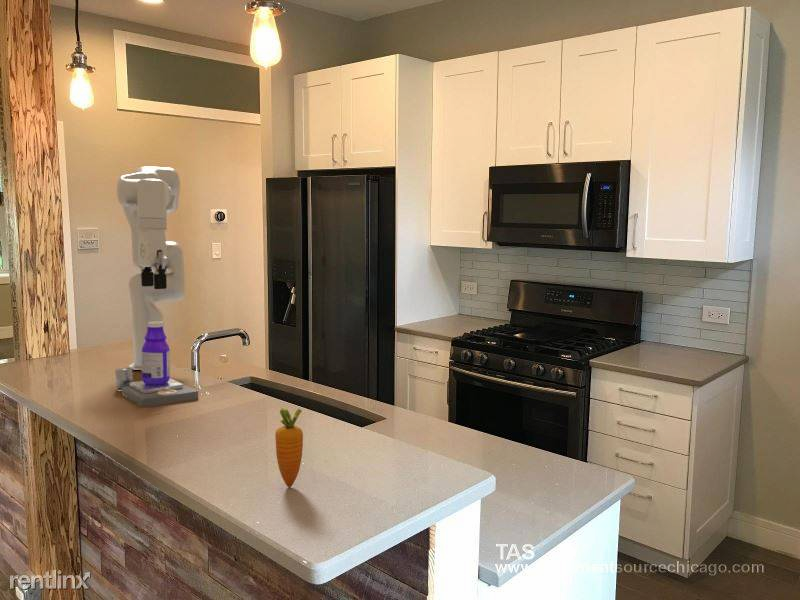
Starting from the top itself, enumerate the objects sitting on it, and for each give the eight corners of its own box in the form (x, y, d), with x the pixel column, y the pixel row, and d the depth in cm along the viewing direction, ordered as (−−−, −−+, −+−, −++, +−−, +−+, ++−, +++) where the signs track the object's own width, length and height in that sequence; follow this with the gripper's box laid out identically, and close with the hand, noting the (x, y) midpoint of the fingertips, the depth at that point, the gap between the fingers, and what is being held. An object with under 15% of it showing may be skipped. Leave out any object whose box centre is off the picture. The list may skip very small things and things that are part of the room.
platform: (129, 385, 188) (129, 382, 188) (168, 380, 195) (168, 377, 195) (143, 393, 180) (143, 390, 180) (183, 387, 187) (183, 384, 187)
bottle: (173, 381, 190) (171, 320, 188) (164, 386, 184) (163, 323, 182) (148, 380, 191) (147, 320, 189) (139, 385, 185) (137, 322, 183)
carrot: (304, 482, 125) (304, 403, 124) (301, 492, 120) (301, 411, 119) (277, 482, 125) (277, 403, 123) (273, 492, 120) (273, 411, 118)
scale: (122, 394, 187) (121, 385, 187) (174, 387, 197) (174, 378, 197) (143, 407, 174) (142, 397, 174) (198, 398, 184) (198, 389, 184)
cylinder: (117, 388, 194) (116, 368, 193) (134, 386, 196) (132, 366, 195) (116, 392, 190) (114, 371, 189) (132, 390, 191) (131, 370, 191)
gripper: (127, 224, 187) (129, 285, 189) (149, 225, 174) (151, 290, 175) (154, 225, 191) (156, 284, 193) (178, 225, 178) (179, 289, 180)
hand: (153, 287), depth 184 cm, fingers open, 9 cm apart
